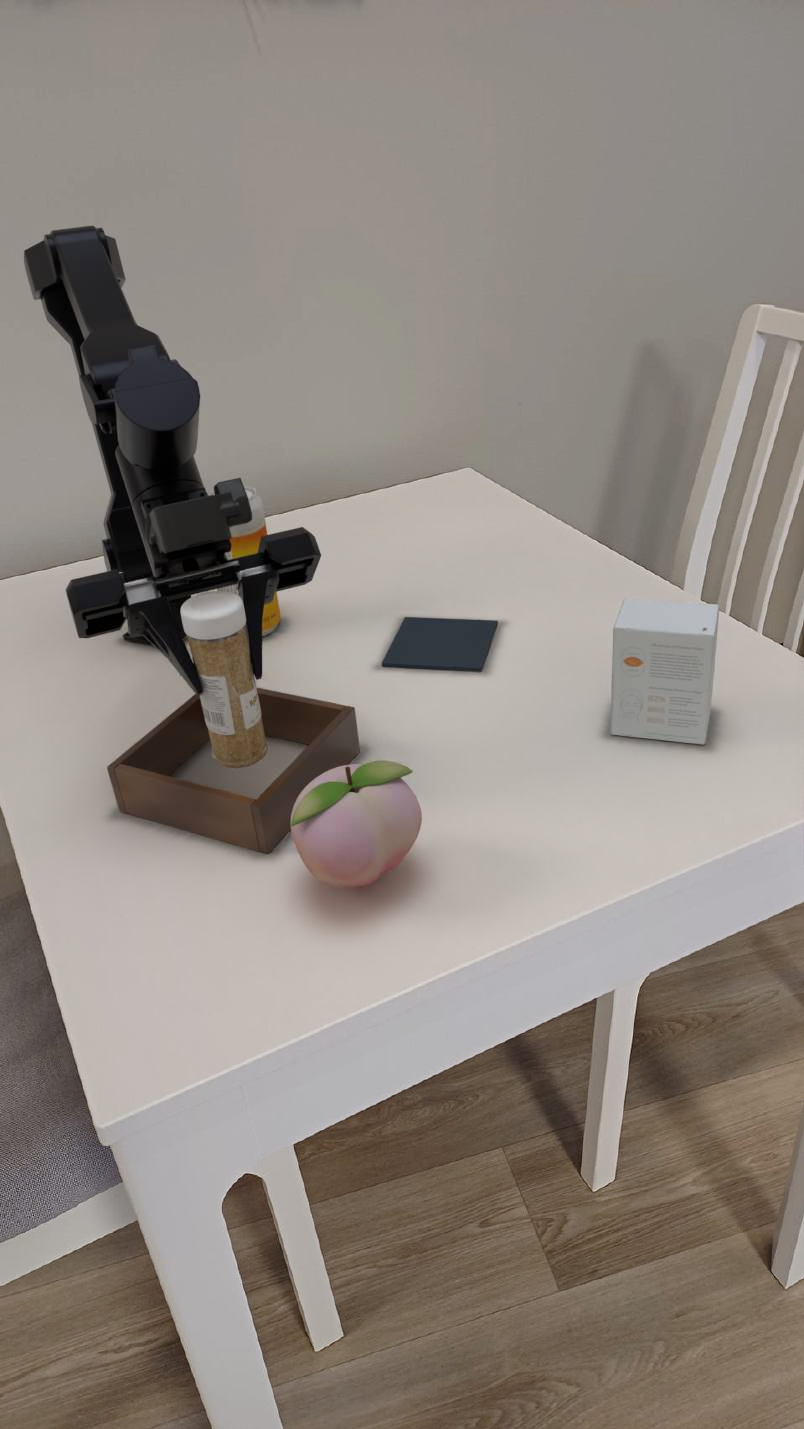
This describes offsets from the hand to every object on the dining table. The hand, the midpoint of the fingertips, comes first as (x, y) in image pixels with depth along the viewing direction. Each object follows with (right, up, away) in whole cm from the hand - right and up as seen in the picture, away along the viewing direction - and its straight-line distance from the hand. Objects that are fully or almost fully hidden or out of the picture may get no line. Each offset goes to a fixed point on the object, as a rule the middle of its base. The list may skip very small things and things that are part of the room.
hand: (229, 685), depth 74 cm
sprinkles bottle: (0, -5, +5) cm, 7 cm away
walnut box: (-1, -8, +9) cm, 12 cm away
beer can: (-3, +7, +33) cm, 34 cm away
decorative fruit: (+10, -14, -2) cm, 17 cm away
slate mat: (+17, +5, +27) cm, 32 cm away
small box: (+35, -3, +12) cm, 37 cm away
